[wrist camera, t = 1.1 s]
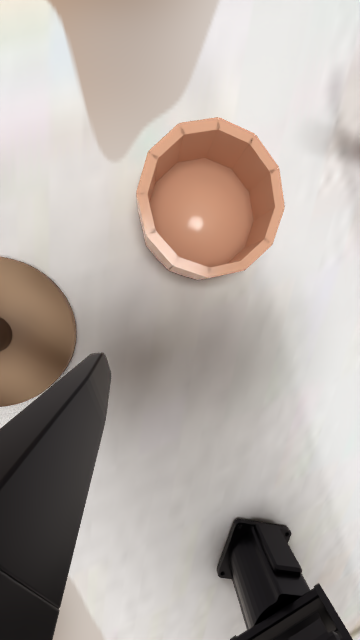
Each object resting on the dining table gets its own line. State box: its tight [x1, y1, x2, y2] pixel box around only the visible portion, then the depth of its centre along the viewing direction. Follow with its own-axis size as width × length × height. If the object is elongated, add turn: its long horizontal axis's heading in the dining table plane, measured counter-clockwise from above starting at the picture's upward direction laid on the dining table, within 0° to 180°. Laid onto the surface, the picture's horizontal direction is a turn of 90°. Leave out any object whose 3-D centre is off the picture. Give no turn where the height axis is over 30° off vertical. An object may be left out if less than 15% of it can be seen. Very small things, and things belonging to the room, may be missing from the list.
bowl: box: [136, 117, 285, 280], centre depth 19 cm, size 10×10×4 cm
